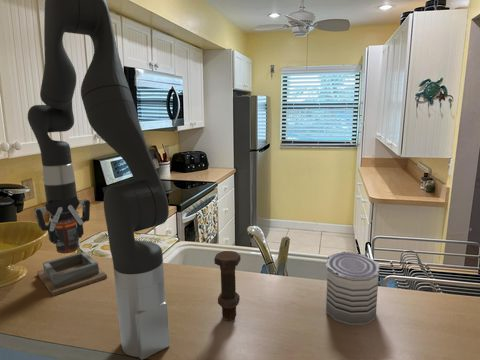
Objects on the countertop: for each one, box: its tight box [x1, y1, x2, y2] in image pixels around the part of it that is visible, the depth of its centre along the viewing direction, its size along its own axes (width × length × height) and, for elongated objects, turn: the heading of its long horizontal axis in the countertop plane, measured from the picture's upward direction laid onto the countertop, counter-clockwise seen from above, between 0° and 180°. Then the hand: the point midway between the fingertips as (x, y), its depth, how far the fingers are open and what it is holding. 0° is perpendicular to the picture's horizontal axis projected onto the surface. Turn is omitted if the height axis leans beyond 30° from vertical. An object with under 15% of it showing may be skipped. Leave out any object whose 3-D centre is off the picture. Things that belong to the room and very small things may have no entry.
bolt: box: [213, 250, 241, 321], centre depth 79 cm, size 6×5×15 cm
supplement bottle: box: [54, 211, 81, 255], centre depth 99 cm, size 6×6×11 cm
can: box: [325, 251, 380, 326], centre depth 81 cm, size 11×11×12 cm
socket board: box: [36, 251, 108, 297], centre depth 102 cm, size 16×14×4 cm
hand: (67, 239), depth 100 cm, fingers closed on supplement bottle, 6 cm apart
